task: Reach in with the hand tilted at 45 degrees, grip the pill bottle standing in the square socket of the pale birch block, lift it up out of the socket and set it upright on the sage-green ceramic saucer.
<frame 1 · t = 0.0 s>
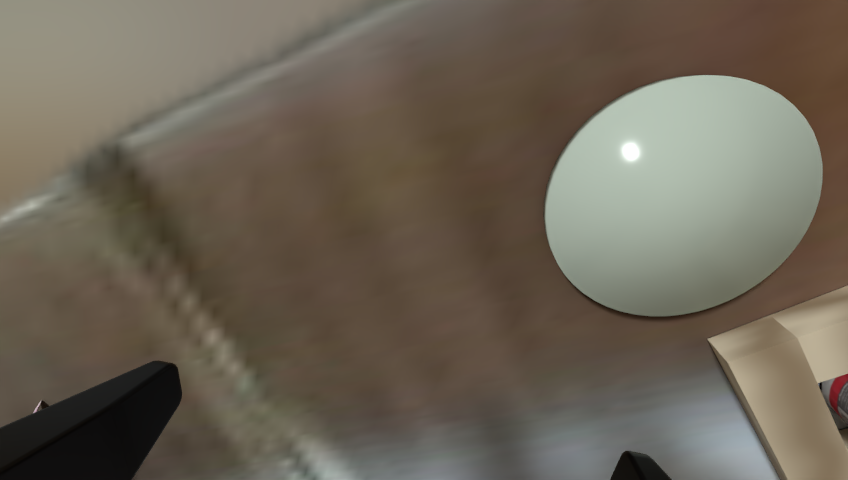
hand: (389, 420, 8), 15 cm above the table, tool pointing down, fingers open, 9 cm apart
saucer: (666, 204, 20), on the table
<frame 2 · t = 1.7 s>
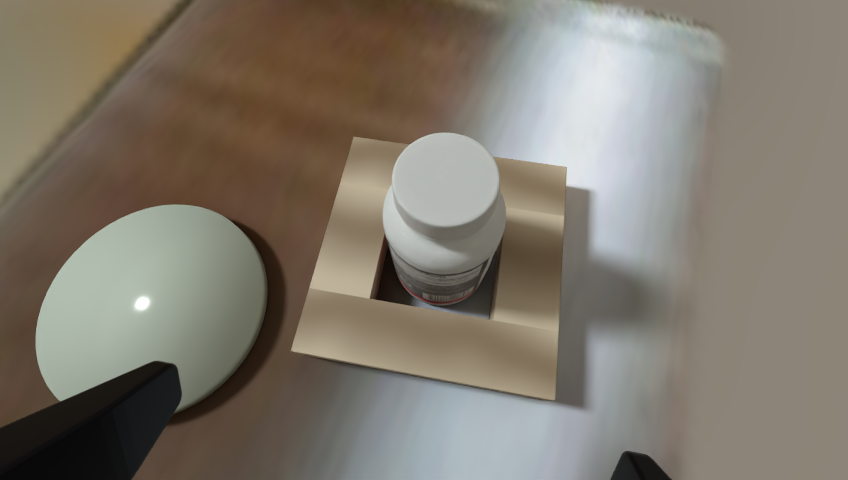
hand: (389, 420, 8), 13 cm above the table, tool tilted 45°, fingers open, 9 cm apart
pill bottle: (439, 263, 23), resting in socket block
socket block: (440, 262, 23), on the table
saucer: (162, 306, 22), on the table
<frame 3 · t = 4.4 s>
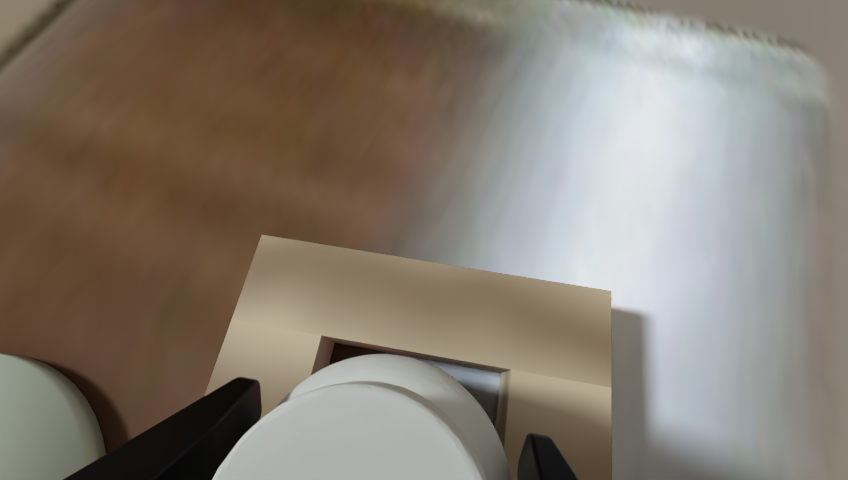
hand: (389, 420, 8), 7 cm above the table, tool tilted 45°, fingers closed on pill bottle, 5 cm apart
pill bottle: (400, 450, 14), resting in socket block, touching gripper
socket block: (399, 451, 14), on the table
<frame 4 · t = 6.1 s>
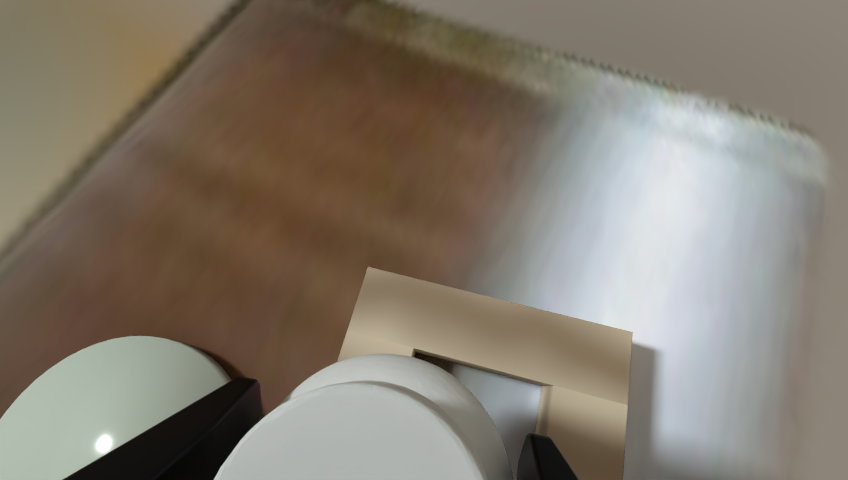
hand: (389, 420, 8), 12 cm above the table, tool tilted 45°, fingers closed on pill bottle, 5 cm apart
pill bottle: (402, 449, 14), point 5 cm above the table, touching gripper
socket block: (463, 438, 19), on the table
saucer: (121, 469, 18), on the table
when the fingers open (9 cm above the table, at t = 8.3 s): pill bottle stays where it is, resting on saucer.
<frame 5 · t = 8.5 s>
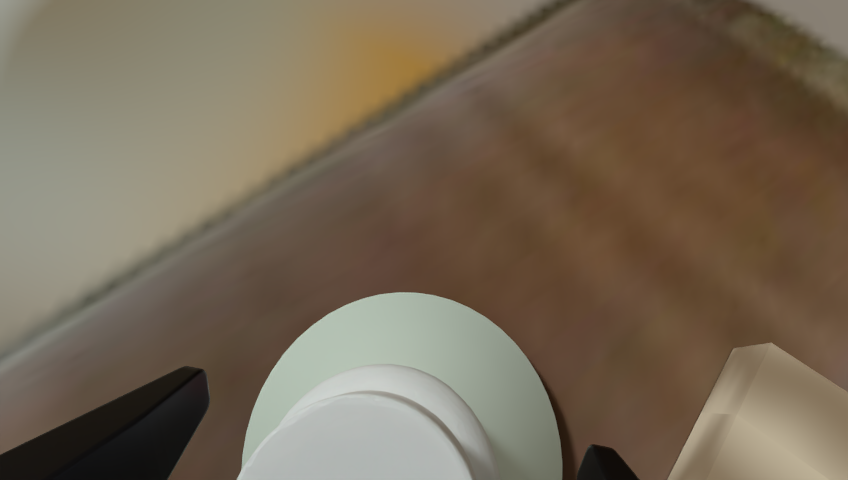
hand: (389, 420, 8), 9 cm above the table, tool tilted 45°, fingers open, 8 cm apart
pill bottle: (400, 452, 15), point 1 cm above the table, touching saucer
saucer: (403, 444, 16), on the table
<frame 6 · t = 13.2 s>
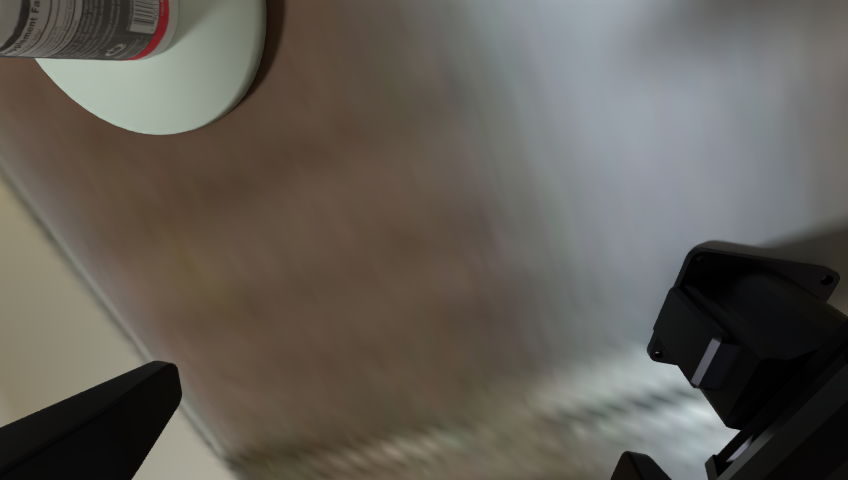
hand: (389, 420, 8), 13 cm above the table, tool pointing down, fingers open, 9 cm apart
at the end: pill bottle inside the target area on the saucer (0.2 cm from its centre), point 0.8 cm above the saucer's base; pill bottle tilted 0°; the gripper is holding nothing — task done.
